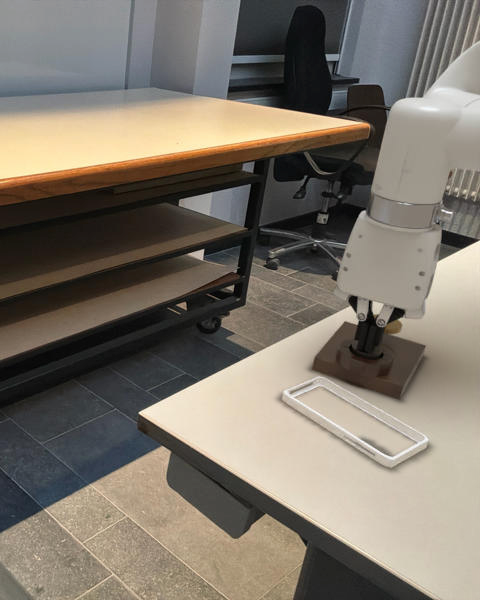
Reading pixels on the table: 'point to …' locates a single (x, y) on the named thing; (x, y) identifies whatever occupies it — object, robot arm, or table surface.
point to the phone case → (365, 407)
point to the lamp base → (370, 362)
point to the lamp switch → (373, 354)
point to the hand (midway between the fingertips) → (365, 347)
